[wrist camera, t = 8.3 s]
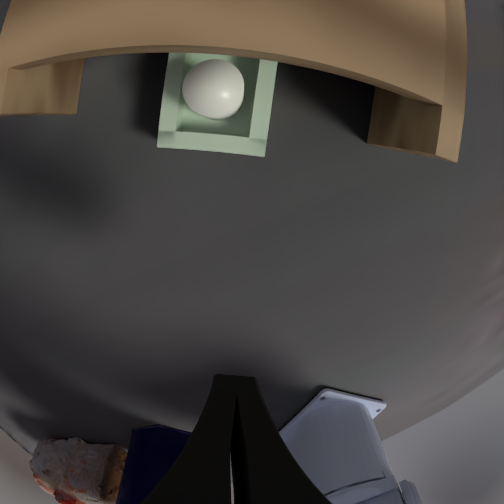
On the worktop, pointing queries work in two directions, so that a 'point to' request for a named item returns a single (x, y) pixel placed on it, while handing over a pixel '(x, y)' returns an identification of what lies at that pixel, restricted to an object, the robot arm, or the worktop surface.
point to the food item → (78, 470)
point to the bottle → (149, 460)
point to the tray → (217, 134)
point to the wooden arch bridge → (257, 52)
